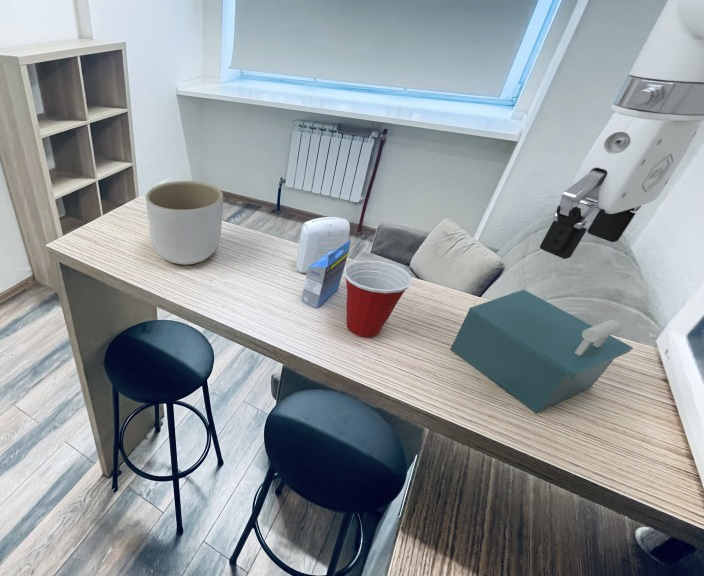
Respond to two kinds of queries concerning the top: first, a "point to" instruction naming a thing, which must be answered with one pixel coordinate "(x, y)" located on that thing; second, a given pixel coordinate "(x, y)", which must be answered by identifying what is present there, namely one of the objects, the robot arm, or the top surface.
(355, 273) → the plastic cup
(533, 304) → the lid
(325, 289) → the label tape box
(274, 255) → the top surface
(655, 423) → the top surface
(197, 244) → the planter
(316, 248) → the photo printer
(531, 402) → the chest
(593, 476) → the top surface
